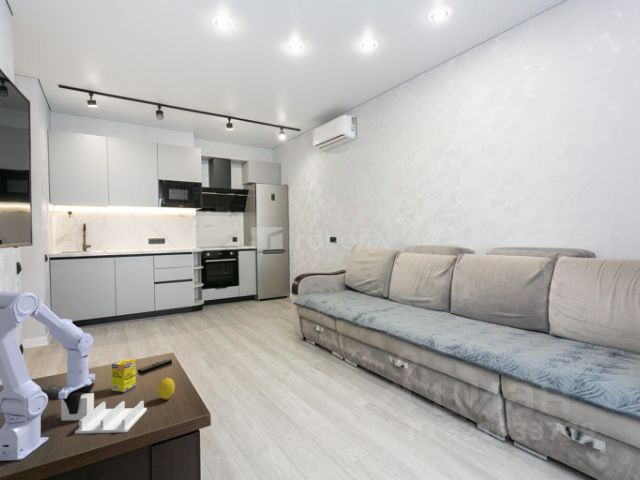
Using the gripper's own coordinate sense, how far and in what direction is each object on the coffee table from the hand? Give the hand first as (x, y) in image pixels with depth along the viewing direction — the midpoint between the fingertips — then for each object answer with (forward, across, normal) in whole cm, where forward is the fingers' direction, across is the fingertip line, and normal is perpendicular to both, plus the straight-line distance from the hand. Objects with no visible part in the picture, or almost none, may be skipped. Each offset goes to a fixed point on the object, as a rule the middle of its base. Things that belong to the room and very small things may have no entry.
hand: (77, 410), depth 108 cm
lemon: (+2, +11, -24) cm, 27 cm away
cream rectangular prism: (+2, 0, 0) cm, 2 cm away
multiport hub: (+3, +17, +20) cm, 26 cm away
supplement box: (+2, +20, -4) cm, 21 cm away
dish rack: (+2, -3, -13) cm, 14 cm away
